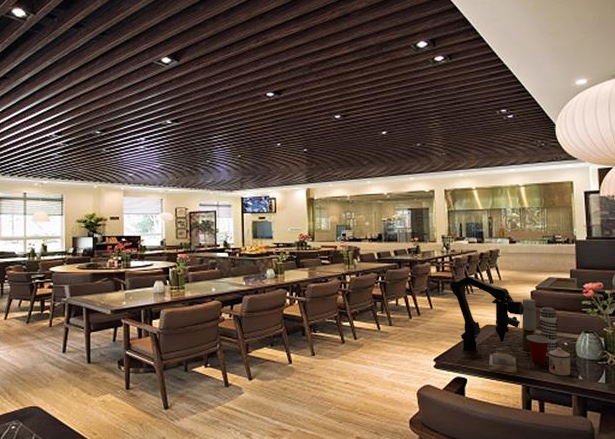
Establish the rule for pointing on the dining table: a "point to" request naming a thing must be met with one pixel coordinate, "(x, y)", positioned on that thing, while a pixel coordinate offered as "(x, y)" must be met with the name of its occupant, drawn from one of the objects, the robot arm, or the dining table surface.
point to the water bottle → (529, 315)
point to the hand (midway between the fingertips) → (502, 341)
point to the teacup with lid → (559, 362)
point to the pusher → (502, 359)
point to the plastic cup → (538, 347)
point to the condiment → (526, 340)
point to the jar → (502, 351)
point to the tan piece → (503, 368)
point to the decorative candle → (549, 327)
